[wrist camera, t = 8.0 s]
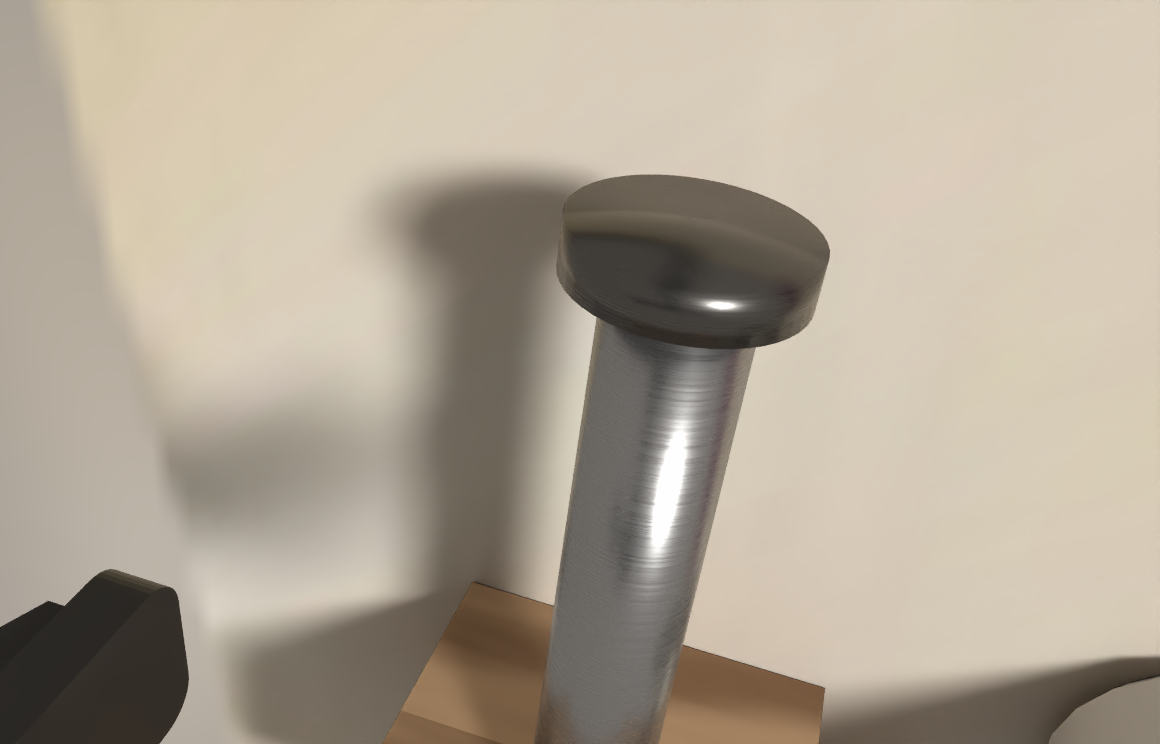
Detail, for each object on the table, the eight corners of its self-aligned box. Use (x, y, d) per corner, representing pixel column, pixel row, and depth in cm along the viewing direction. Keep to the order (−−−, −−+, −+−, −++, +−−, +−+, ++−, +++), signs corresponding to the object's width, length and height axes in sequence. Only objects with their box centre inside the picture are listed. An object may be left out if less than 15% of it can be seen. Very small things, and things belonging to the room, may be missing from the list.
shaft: (603, 156, 20) (526, 249, 16) (839, 208, 19) (816, 318, 15) (510, 820, 30) (452, 967, 26) (659, 870, 29) (620, 1029, 26)
